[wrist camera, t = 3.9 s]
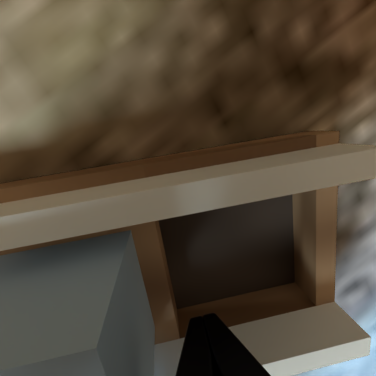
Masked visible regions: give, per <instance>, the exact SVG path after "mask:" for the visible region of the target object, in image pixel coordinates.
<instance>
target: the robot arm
mask: <svg viewBox="0 0 376 376" xmlns="http://www.w3.org/2000/svg"><path fill="white" fill-rule="evenodd" d="M175 376H271V375H270V374H269V373H268V372H267V371H266V369H265V368H264V367H263V366H262V365H261V364H260V363H259V362H258V360H257V359H256V358H255V357H254V356H253V355H252V354H251V353H250V352H249V350H248V349H247V348H246V347H245V346H244V345H243V344H242V343H241V341H240V340H239V339H238V338H237V337H236V336H235V335H234V334H233V332H232V331H231V330H230V329H229V328H228V327H227V326H226V325H225V323H224V322H223V321H222V320H221V319H220V318H219V317H218V316H217V314H215V313H209V314H205V315H203V318H202V316H196V317H192V318H190V320H189V323H188V327H187V331H186V335H185V339H184V343H183V347H182V351H181V355H180V359H179V363H178V367H177V371H176V375H175Z"/></svg>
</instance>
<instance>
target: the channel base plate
mask: <svg viewBox="0 0 376 376" xmlns="http://www.w3.org/2000/svg"><path fill="white" fill-rule="evenodd" d="M338 143H339V131H305V132H299V133H293V134H287V135H281V136H275V137H269V138H264V139H258V140H252V141H246V142H240V143H234V144H228V145H223V146H217V147H211V148H205V149H199V150H193V151H187V152H182V153H176V154H170V155H164V156H158V157H152V158H146V159H141V160H135V161H129V162H123V163H117V164H111V165H105V166H100V167H94V168H88V169H82V170H76V171H70V172H64V173H59V174H53V175H47V176H41V177H35V178H29V179H23V180H18V181H12V182H6V183H0V203H6V202H11V201H17V200H23V199H28V198H34V197H40V196H45V195H51V194H56V193H62V192H68V191H73V190H79V189H85V188H90V187H96V186H102V185H107V184H113V183H118V182H124V181H130V180H135V179H141V178H147V177H152V176H158V175H163V174H169V173H175V172H180V171H186V170H192V169H197V168H203V167H208V166H214V165H220V164H225V163H231V162H237V161H242V160H248V159H253V158H259V157H265V156H270V155H276V154H282V153H287V152H293V151H298V150H304V149H310V148H315V147H321V146H327V145H332V144H338ZM337 195H338V186H333V187H328V188H322V189H317V190H312V191H307V192H302V193H297V194H291V195H286V196H281V197H276V198H271V199H266V200H261V201H255V202H250V203H245V204H240V205H235V206H230V207H225V208H219V209H214V210H209V211H204V212H199V213H194V214H189V215H183V216H178V217H173V218H168V219H163V220H158V221H153V222H147V223H142V224H137V225H132V226H127V227H122V228H117V229H111V230H106V231H101V232H96V233H91V234H86V235H81V236H75V237H70V238H65V239H60V240H55V241H50V242H44V243H39V244H34V245H29V246H24V247H19V248H14V249H8V250H3V251H0V256H1V255H6V254H11V253H16V252H21V251H26V250H31V249H36V248H41V247H47V246H52V245H57V244H62V243H67V242H72V241H77V240H82V239H87V238H93V237H98V236H103V235H108V234H113V233H118V232H123V231H128V230H131V233H132V237H133V241H134V245H135V249H136V253H137V257H138V261H139V265H140V269H141V273H142V277H143V281H144V285H145V289H146V293H147V297H148V301H149V305H150V309H151V313H152V317H153V321H154V325H155V345H156V344H160V343H164V342H168V341H172V340H176V339H181V338H185V335H186V331H187V327H188V323H189V320H190V318H192V317H196V316H202V318H203V315H205V314H209V313H215V314H217V316H218V317H219V318H220V319H221V320H222V321H223V322H224V323H225V325H226V326H227V327H231V326H235V325H239V324H243V323H247V322H251V321H256V320H260V319H264V318H268V317H272V316H276V315H281V314H285V313H289V312H293V311H297V310H301V309H306V308H310V307H314V306H318V305H322V304H326V303H331V302H334V298H335V264H336V230H337Z"/></svg>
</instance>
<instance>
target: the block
mask: <svg viewBox="0 0 376 376" xmlns="http://www.w3.org/2000/svg"><path fill="white" fill-rule="evenodd" d="M154 345H155V325H154V321H153V317H152V313H151V309H150V305H149V301H148V297H147V293H146V289H145V285H144V281H143V277H142V273H141V269H140V265H139V261H138V257H137V253H136V249H135V245H134V241H133V237H132V233H131V230H128V231H123V232H118V233H113V234H108V235H103V236H98V237H93V238H87V239H82V240H77V241H72V242H67V243H62V244H57V245H52V246H47V247H41V248H36V249H31V250H26V251H21V252H16V253H11V254H6V255H1V256H0V376H154Z"/></svg>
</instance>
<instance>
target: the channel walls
mask: <svg viewBox="0 0 376 376" xmlns="http://www.w3.org/2000/svg"><path fill="white" fill-rule="evenodd" d="M374 178H376V146H373V145H358V144H342V143H338V144H332V145H327V146H321V147H315V148H310V149H304V150H298V151H293V152H287V153H282V154H276V155H270V156H265V157H259V158H253V159H248V160H242V161H237V162H231V163H225V164H220V165H214V166H208V167H203V168H197V169H192V170H186V171H180V172H175V173H169V174H163V175H158V176H152V177H147V178H141V179H135V180H130V181H124V182H118V183H113V184H107V185H102V186H96V187H90V188H85V189H79V190H73V191H68V192H62V193H56V194H51V195H45V196H40V197H34V198H28V199H23V200H17V201H11V202H6V203H0V251H3V250H8V249H14V248H19V247H24V246H29V245H34V244H39V243H44V242H50V241H55V240H60V239H65V238H70V237H75V236H81V235H86V234H91V233H96V232H101V231H106V230H111V229H117V228H122V227H127V226H132V225H137V224H142V223H147V222H153V221H158V220H163V219H168V218H173V217H178V216H183V215H189V214H194V213H199V212H204V211H209V210H214V209H219V208H225V207H230V206H235V205H240V204H245V203H250V202H255V201H261V200H266V199H271V198H276V197H281V196H286V195H291V194H297V193H302V192H307V191H312V190H317V189H322V188H328V187H333V186H338V185H343V184H348V183H353V182H358V181H364V180H369V179H374ZM228 328H229V329H230V330H231V331H232V332H233V334H234V335H235V336H236V337H237V338H238V339H239V340H240V341H241V343H242V344H243V345H244V346H245V347H246V348H247V349H248V350H249V352H250V353H251V354H252V355H253V356H254V357H255V358H256V359H257V360H258V362H259V363H260V364H261V365H262V366H263V367H264V368H265V369H266V371H267V372H268V373H269V374H270V375H271V376H292V375H295V374H299V373H303V372H307V371H311V370H314V369H318V368H322V367H326V366H329V365H333V364H337V363H341V362H344V361H348V360H352V359H356V358H360V357H363V356H367V355H369V353H370V342H371V337H370V336H369V335H368V334H367V333H366V332H365V331H364V330H363V329H362V328H361V327H360V326H359V325H358V324H357V323H356V322H355V321H354V320H353V319H352V318H351V317H350V316H349V315H348V314H347V313H346V312H345V311H344V310H343V309H342V308H340V307H339V306H338V305H337V304H336V303H335V302H331V303H326V304H322V305H318V306H314V307H310V308H306V309H301V310H297V311H293V312H289V313H285V314H281V315H276V316H272V317H268V318H264V319H260V320H256V321H251V322H247V323H243V324H239V325H235V326H231V327H228ZM184 339H185V338H181V339H176V340H172V341H168V342H164V343H160V344H156V345H154V376H175V375H176V371H177V367H178V363H179V359H180V355H181V351H182V347H183V343H184Z"/></svg>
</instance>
